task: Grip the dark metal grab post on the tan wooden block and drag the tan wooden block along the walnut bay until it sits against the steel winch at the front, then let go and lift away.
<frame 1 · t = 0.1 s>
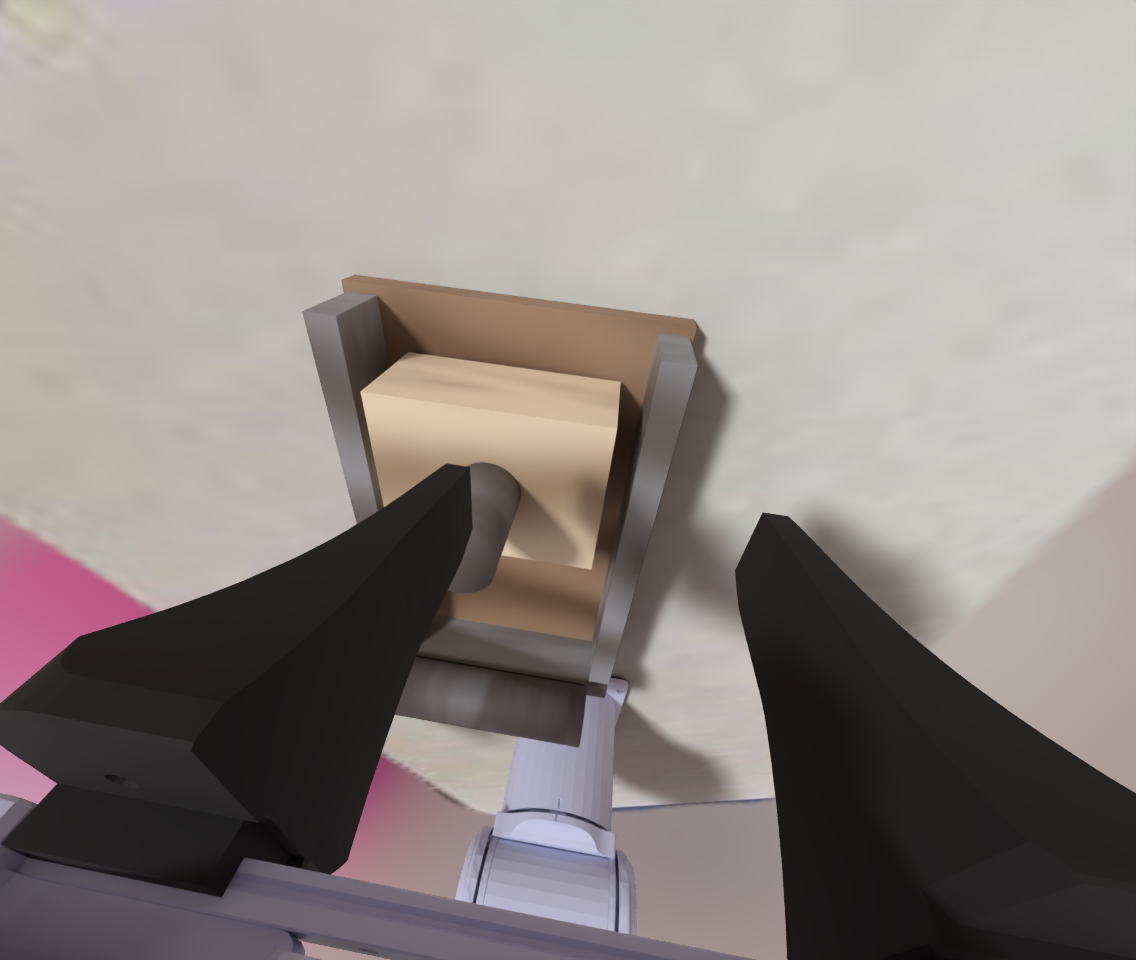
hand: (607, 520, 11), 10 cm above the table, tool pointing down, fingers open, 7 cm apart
bay: (515, 505, 24), on the table
tan wooden block: (488, 490, 17), point 5 cm above the table, slide at 11.0 cm
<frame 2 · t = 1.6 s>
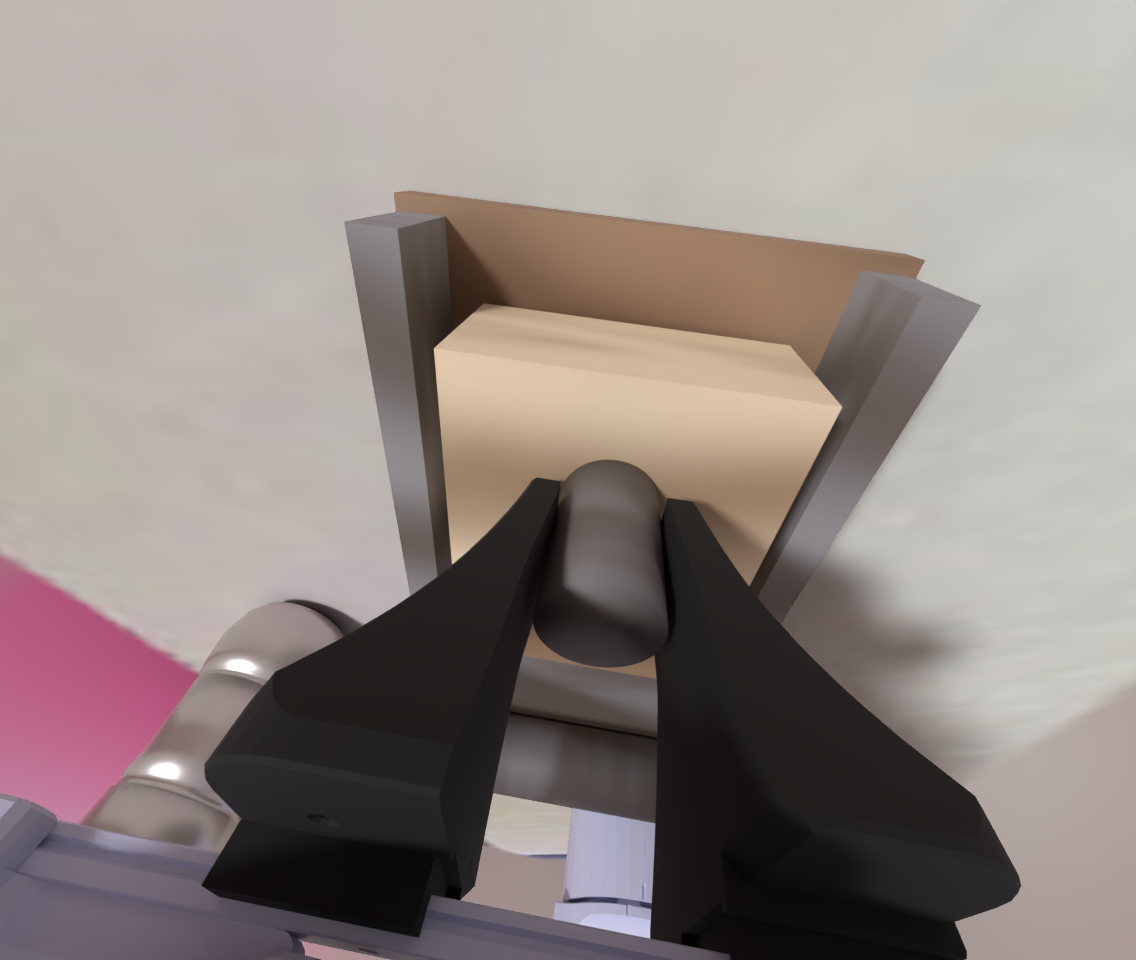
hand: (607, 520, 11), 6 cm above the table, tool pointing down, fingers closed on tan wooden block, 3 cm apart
bay: (597, 516, 19), on the table
plastic bottle: (311, 621, 27), on the table
tan wooden block: (609, 500, 12), point 5 cm above the table, slide at 11.0 cm, touching gripper
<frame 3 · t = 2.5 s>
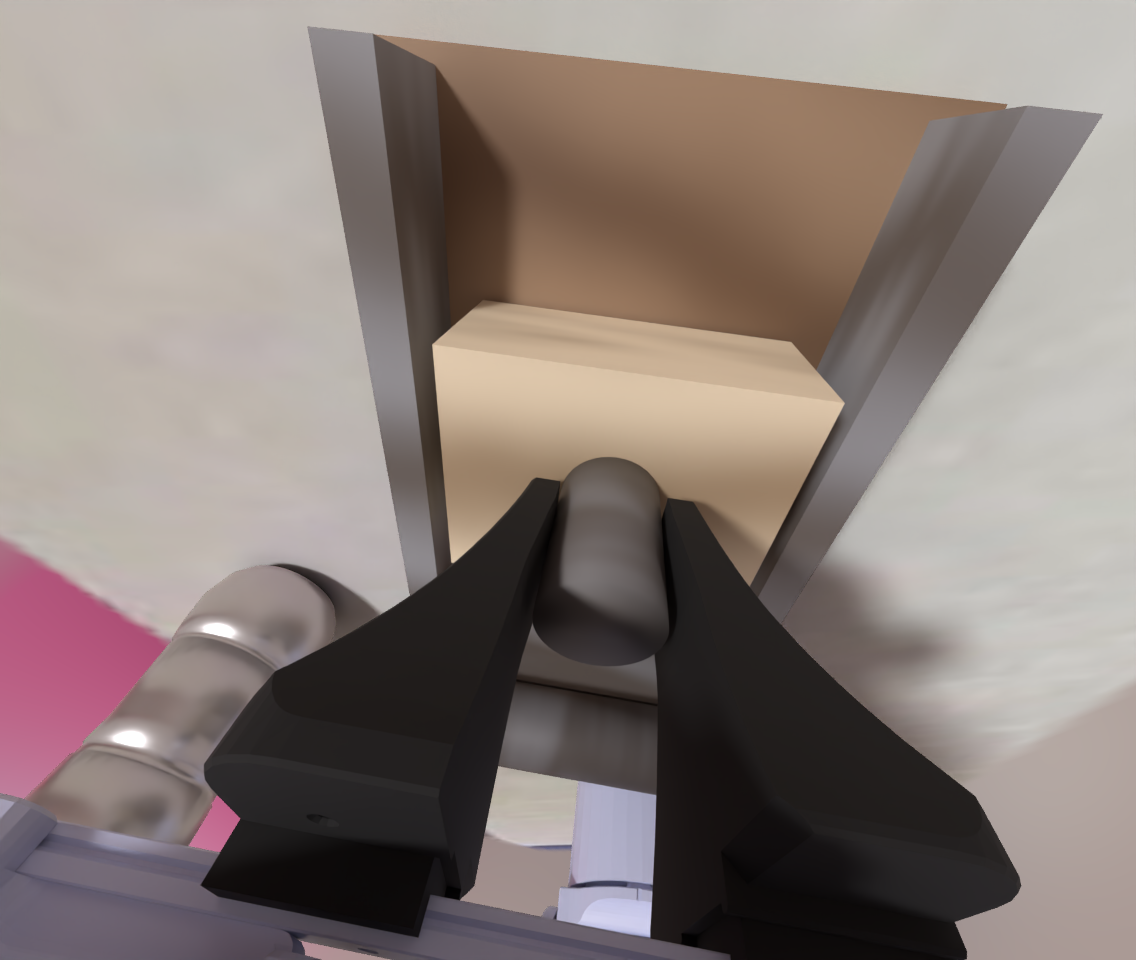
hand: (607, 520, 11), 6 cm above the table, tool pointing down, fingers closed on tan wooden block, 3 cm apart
bay: (607, 457, 17), on the table
plastic bottle: (297, 588, 25), on the table
tan wooden block: (609, 498, 12), point 5 cm above the table, slide at 8.1 cm, touching gripper
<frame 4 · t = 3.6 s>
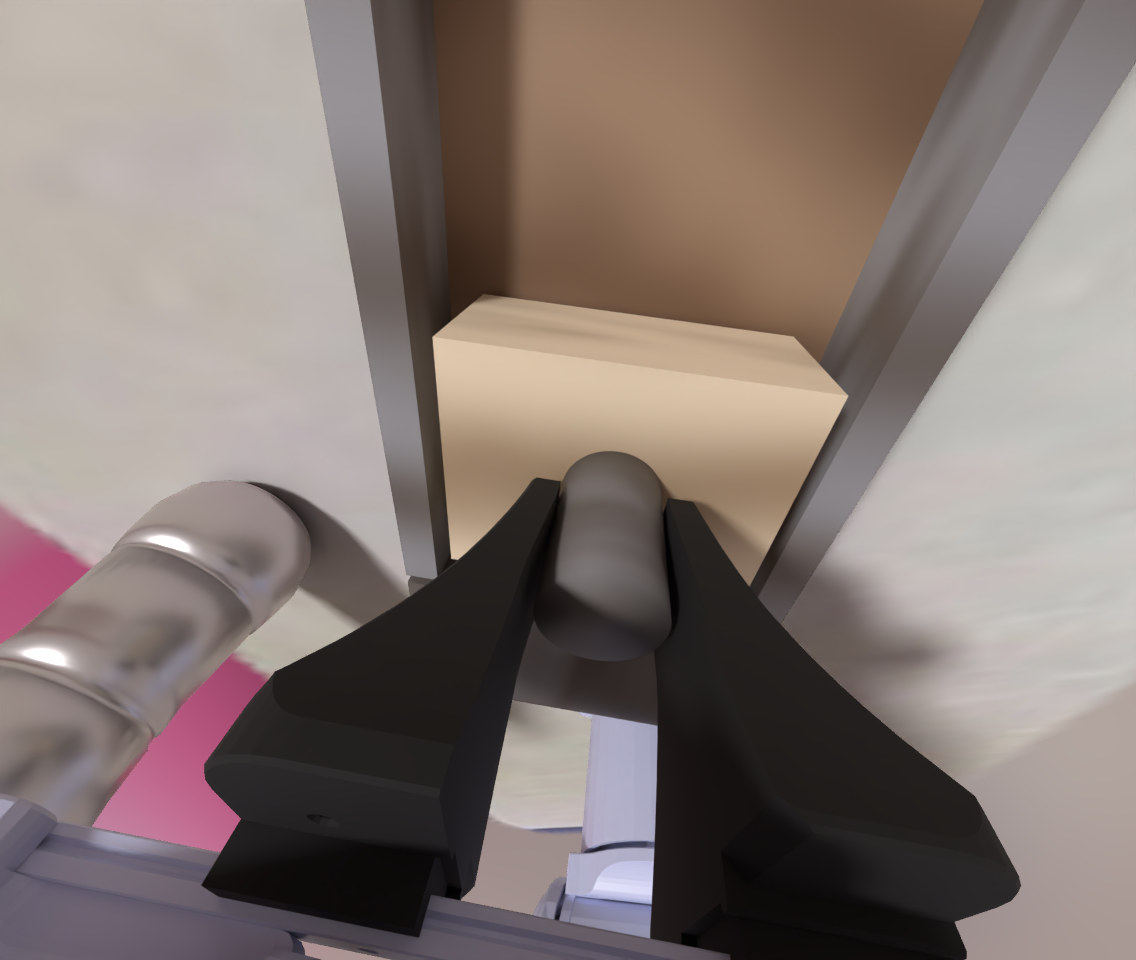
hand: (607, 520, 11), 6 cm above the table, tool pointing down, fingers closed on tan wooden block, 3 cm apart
bay: (634, 312, 14), on the table
plastic bottle: (268, 516, 22), on the table
tan wooden block: (610, 493, 11), point 5 cm above the table, slide at 2.8 cm, touching gripper
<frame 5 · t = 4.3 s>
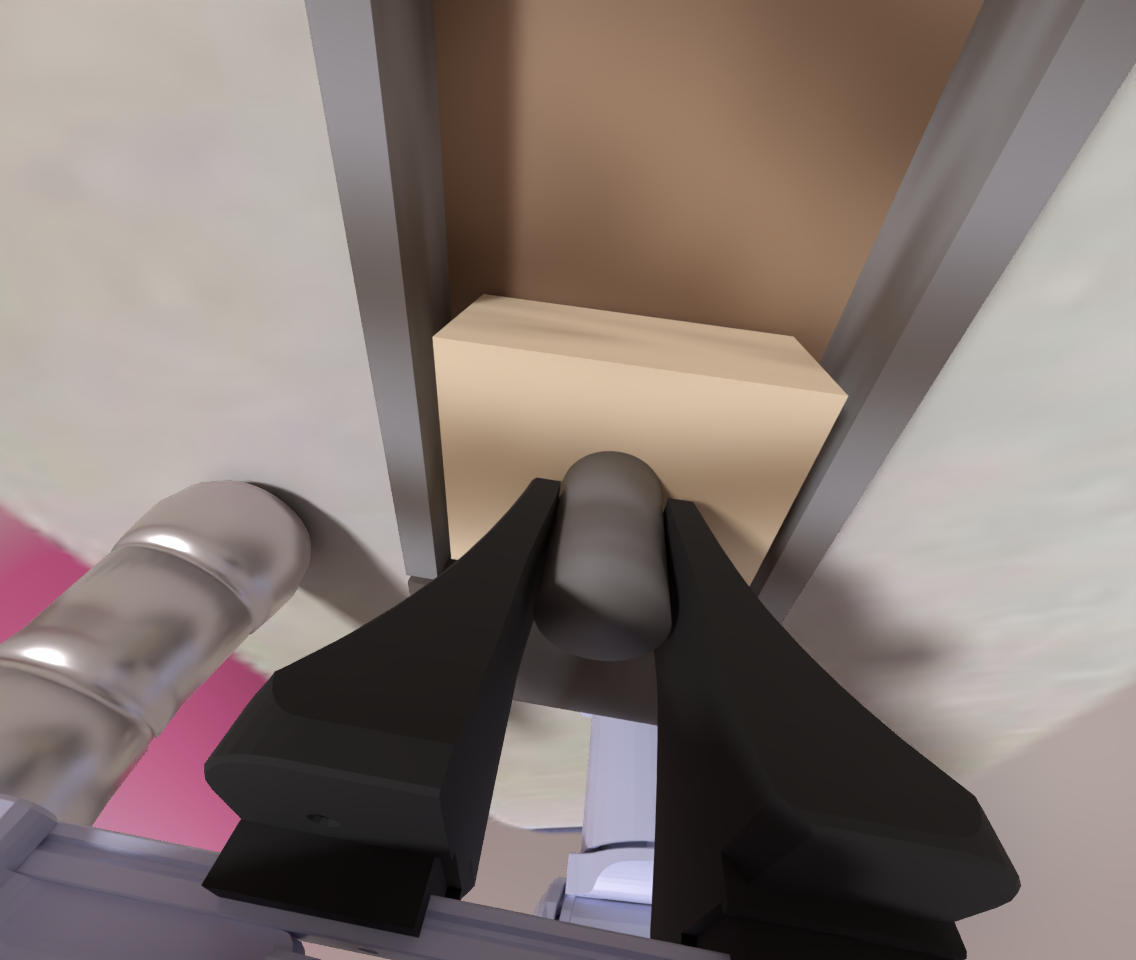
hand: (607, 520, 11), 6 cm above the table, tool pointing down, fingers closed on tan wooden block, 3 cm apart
bay: (634, 312, 14), on the table
plastic bottle: (268, 516, 22), on the table
tan wooden block: (610, 493, 11), point 5 cm above the table, slide at 2.8 cm, touching gripper
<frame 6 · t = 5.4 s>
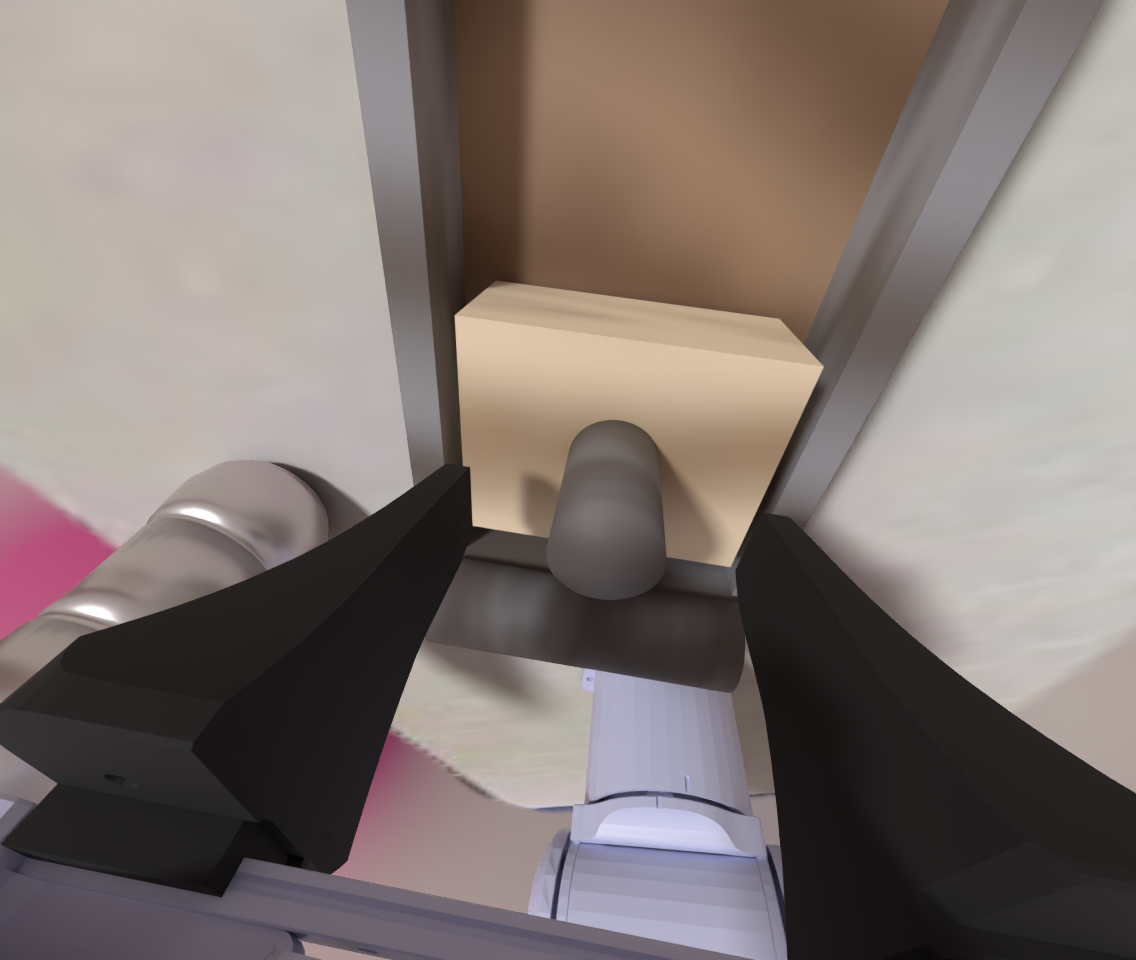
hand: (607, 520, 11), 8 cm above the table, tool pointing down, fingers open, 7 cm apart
bay: (634, 298, 15), on the table
plastic bottle: (287, 496, 23), on the table
tan wooden block: (613, 459, 13), point 5 cm above the table, slide at 2.8 cm
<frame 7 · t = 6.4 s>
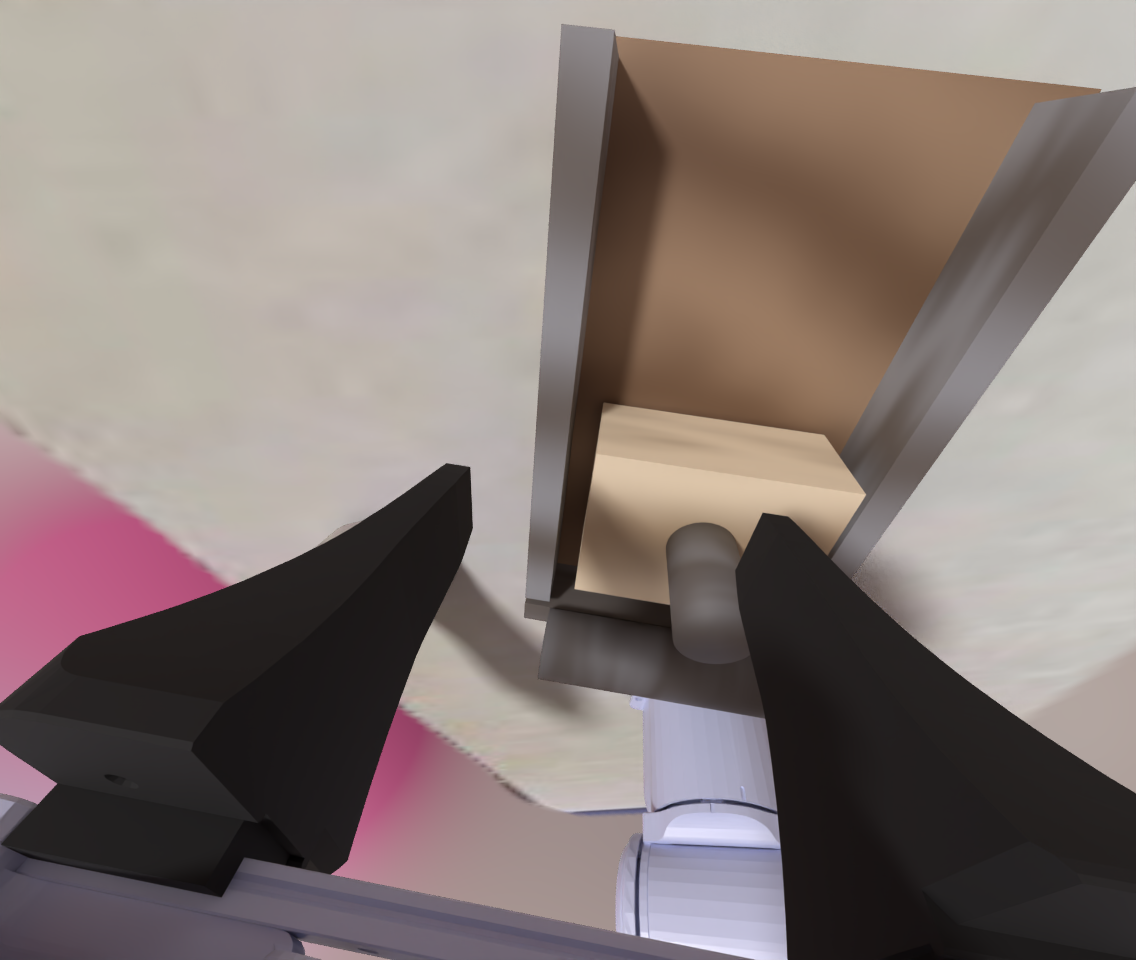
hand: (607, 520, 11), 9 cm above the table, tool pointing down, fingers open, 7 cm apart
bay: (707, 410, 19), on the table
tan wooden block: (700, 548, 17), point 5 cm above the table, slide at 2.8 cm
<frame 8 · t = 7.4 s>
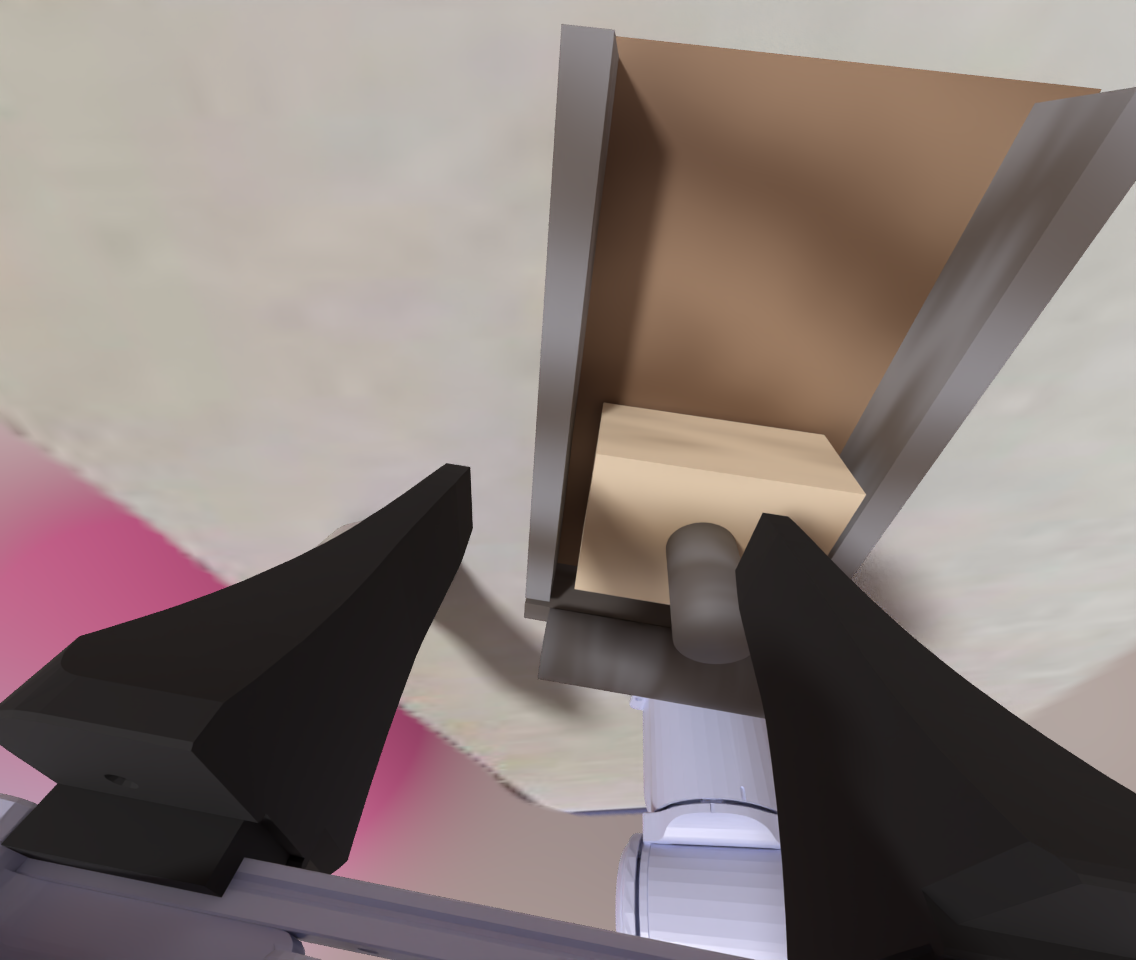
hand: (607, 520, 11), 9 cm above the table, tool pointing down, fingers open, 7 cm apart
bay: (707, 410, 19), on the table
tan wooden block: (700, 548, 17), point 5 cm above the table, slide at 2.8 cm
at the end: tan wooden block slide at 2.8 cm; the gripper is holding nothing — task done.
